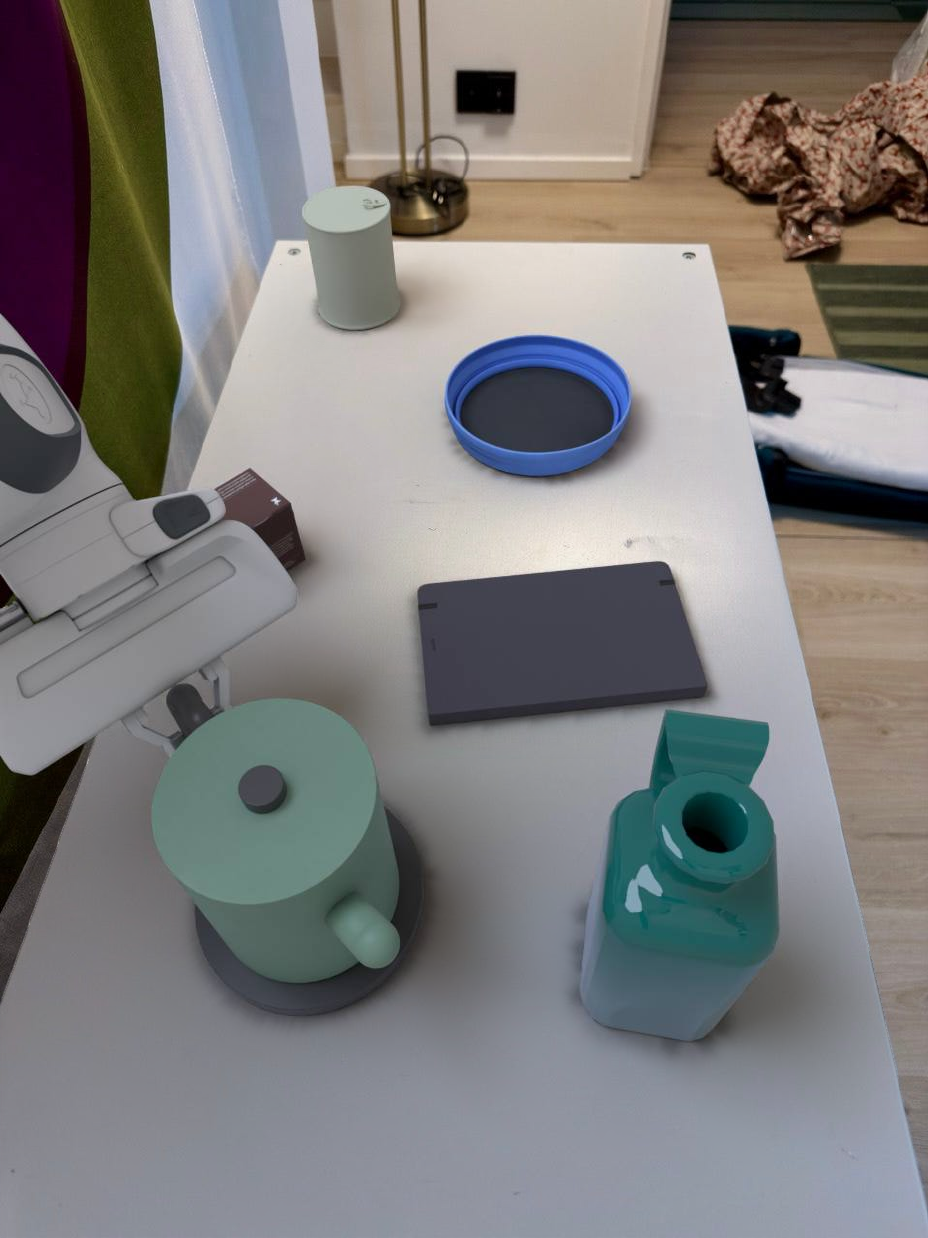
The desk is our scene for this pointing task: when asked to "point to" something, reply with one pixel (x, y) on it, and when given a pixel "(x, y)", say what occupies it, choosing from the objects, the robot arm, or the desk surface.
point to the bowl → (537, 404)
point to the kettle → (279, 835)
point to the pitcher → (684, 885)
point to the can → (352, 256)
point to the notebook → (555, 642)
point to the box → (263, 515)
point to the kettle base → (336, 988)
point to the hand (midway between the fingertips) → (209, 745)
